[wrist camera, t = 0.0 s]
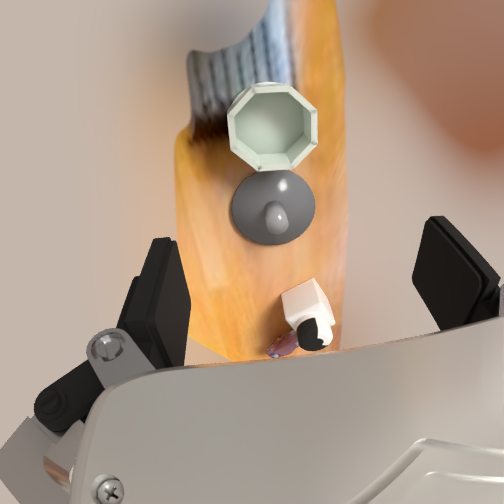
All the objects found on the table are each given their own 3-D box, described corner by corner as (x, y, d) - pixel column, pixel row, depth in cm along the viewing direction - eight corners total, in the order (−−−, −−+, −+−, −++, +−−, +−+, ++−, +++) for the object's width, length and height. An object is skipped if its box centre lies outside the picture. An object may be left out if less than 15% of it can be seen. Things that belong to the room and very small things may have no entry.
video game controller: (302, 316, 68) (297, 331, 61) (314, 332, 68) (311, 348, 61) (267, 338, 71) (259, 354, 64) (279, 352, 71) (273, 369, 65)
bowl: (224, 84, 40) (222, 88, 35) (307, 80, 40) (318, 83, 35) (232, 161, 46) (231, 175, 41) (309, 155, 46) (318, 169, 41)
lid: (227, 171, 48) (226, 186, 43) (314, 165, 47) (323, 179, 43) (236, 244, 55) (236, 265, 50) (312, 238, 55) (320, 258, 50)
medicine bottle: (297, 314, 65) (306, 360, 55) (280, 293, 61) (288, 341, 51) (328, 298, 63) (342, 344, 53) (313, 276, 59) (327, 322, 49)
